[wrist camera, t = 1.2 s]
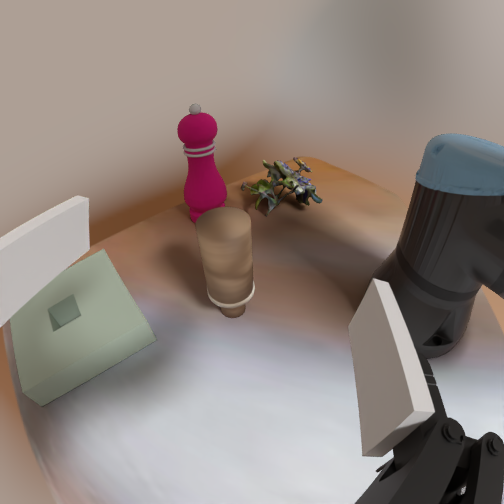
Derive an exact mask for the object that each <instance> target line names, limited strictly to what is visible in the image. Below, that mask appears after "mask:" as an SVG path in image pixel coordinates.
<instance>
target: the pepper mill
mask: <svg viewBox="0 0 504 504" xmlns="http://www.w3.org/2000/svg"><path fill="white" fill-rule="evenodd" d="M189 112H190V113H191V114H189V115H187V116H185V117H184V118H183V119H182V120H181V121H180V122H179V125H178V137H179V139H180V140H181V141H182V142H183V143H185V144H184V146H183V149H184V154H185V155H186V156H187V158H188V167H189V169H188V176H187V179H186V183H185V188H184V199H185V202H186V204H187V205H188V206H189V207H190V216H191V220H192V221H193V222H194V223H196V221H197V219H198V218H199V217H200V216H201V215H202V214H203V213H205V212H206V211H208V210H211V209H214V208H219V207H225V204H224V201H225V199H226V197H227V191H226V186H225V183H224V181H223V179H222V177H221V176H220V174H219V172H218V171H217V169H216V166H215V162H214V154H213V153H214V152H215V150H216V147H215V141H214V140H213V139H214V137H215V136H216V134H217V124H216V121H215V120H214V118H213V117H212V116H210V115H209V114H206V113H200V112H201V107H200V105H198V104H192V105H191V106H190V108H189Z"/></svg>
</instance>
